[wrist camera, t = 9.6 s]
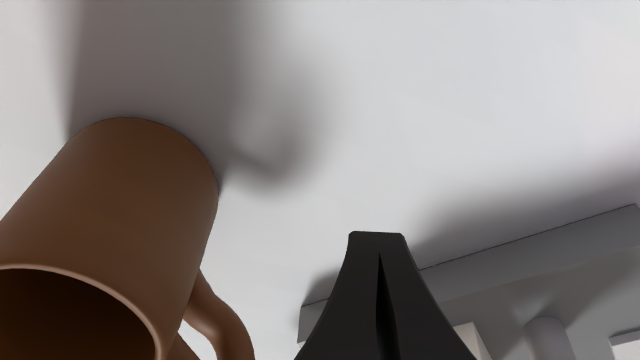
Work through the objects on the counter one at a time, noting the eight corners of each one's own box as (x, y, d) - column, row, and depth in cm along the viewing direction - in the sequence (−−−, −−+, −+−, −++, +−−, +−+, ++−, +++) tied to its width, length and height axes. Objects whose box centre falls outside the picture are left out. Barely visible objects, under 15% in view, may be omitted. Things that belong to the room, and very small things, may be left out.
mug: (319, 234, 27) (306, 402, 20) (225, 301, 31) (183, 467, 23) (121, 77, 23) (4, 217, 15) (36, 176, 26) (-95, 332, 19)
